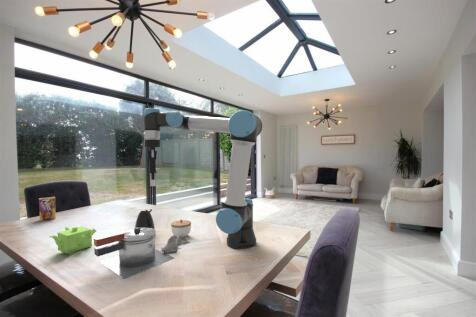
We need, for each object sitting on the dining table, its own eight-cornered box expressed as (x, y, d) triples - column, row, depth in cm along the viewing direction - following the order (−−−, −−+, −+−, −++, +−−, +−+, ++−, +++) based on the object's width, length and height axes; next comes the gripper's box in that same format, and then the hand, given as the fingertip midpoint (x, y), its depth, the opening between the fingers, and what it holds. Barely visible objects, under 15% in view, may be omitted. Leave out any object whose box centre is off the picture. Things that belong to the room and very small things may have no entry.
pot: (144, 249, 112) (144, 228, 112) (162, 258, 103) (162, 235, 103) (89, 268, 94) (88, 243, 94) (104, 281, 85) (104, 253, 85)
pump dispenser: (159, 235, 135) (158, 208, 135) (144, 241, 126) (144, 212, 125) (145, 233, 139) (145, 206, 139) (130, 238, 130) (130, 210, 129)
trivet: (175, 260, 103) (175, 258, 103) (124, 281, 86) (123, 278, 86) (147, 247, 117) (147, 245, 117) (99, 263, 100) (99, 261, 100)
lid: (145, 228, 112) (145, 221, 112) (162, 235, 102) (162, 227, 102) (88, 242, 95) (88, 234, 95) (102, 252, 85) (102, 243, 85)
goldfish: (169, 237, 128) (181, 225, 127) (182, 250, 128) (194, 239, 127) (153, 254, 108) (167, 240, 107) (168, 270, 108) (182, 256, 107)
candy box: (55, 217, 174) (55, 196, 173) (55, 218, 170) (55, 197, 170) (39, 219, 168) (39, 198, 168) (39, 221, 165) (38, 198, 164)
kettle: (49, 259, 105) (48, 233, 105) (63, 247, 119) (62, 224, 119) (87, 255, 109) (87, 230, 109) (97, 244, 123) (96, 222, 123)
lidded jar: (186, 240, 127) (186, 223, 126) (167, 239, 129) (167, 221, 128) (194, 234, 137) (194, 217, 137) (176, 232, 139) (176, 216, 139)
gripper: (144, 140, 127) (145, 184, 127) (144, 138, 115) (144, 188, 115) (159, 140, 129) (160, 184, 130) (160, 138, 117) (161, 187, 118)
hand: (153, 185), depth 123 cm, fingers closed
